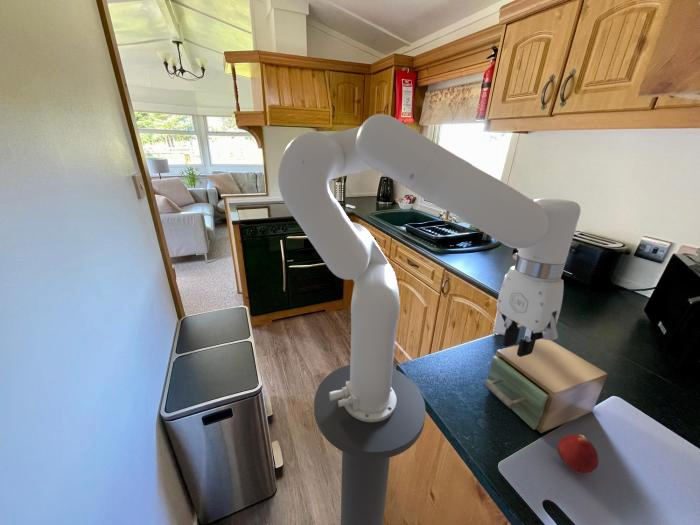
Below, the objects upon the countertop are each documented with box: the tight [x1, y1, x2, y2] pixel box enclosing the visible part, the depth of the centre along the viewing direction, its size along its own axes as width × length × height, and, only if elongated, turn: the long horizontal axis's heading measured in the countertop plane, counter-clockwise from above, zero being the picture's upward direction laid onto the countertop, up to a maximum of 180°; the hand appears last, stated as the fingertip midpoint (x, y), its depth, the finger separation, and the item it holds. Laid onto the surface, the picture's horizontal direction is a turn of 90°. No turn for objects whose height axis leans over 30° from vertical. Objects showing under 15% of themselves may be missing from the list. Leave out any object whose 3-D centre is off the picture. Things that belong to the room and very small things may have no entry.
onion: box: [557, 433, 600, 475], centre depth 53 cm, size 6×6×8 cm
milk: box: [492, 273, 507, 336], centre depth 93 cm, size 6×6×22 cm
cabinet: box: [495, 339, 609, 434], centre depth 68 cm, size 17×14×11 cm
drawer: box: [483, 355, 549, 430], centre depth 66 cm, size 20×13×9 cm, turn 111°
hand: (516, 348), depth 60 cm, fingers closed
